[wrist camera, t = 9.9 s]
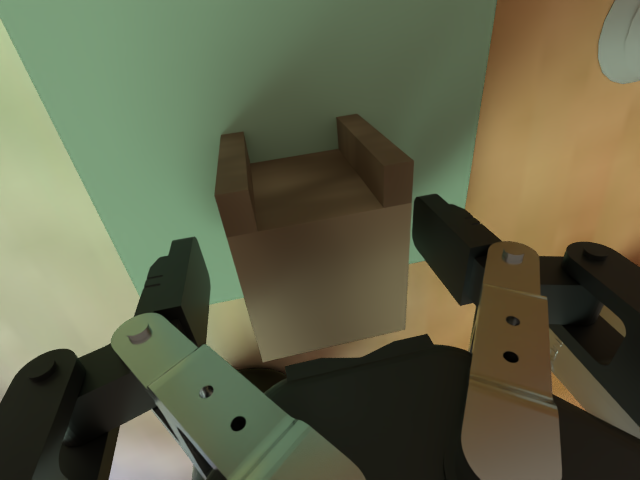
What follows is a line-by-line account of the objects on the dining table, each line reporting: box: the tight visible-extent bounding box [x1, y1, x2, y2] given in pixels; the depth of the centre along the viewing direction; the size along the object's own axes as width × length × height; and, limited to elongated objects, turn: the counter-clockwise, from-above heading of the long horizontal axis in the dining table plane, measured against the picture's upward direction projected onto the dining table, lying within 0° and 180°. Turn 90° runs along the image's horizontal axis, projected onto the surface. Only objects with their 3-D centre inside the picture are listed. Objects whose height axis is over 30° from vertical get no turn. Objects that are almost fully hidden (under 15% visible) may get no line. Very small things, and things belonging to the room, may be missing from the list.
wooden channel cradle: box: [214, 114, 414, 362], centre depth 12 cm, size 5×6×5 cm
